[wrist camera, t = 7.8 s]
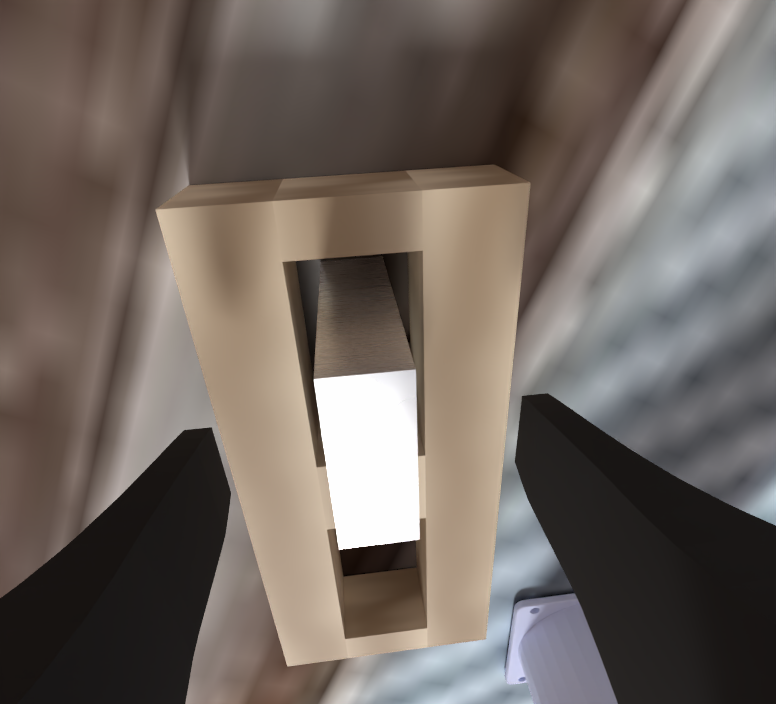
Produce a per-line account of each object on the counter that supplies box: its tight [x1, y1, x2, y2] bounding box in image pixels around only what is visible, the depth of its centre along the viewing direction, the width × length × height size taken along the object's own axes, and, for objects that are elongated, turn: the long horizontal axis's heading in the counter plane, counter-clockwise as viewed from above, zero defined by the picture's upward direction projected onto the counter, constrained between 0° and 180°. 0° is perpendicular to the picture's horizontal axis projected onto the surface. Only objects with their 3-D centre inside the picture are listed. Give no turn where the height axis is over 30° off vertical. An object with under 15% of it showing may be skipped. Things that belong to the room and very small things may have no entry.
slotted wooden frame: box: [156, 164, 530, 666], centre depth 18 cm, size 9×20×3 cm, turn 3°
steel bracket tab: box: [314, 256, 420, 549], centre depth 13 cm, size 2×5×7 cm, turn 3°
